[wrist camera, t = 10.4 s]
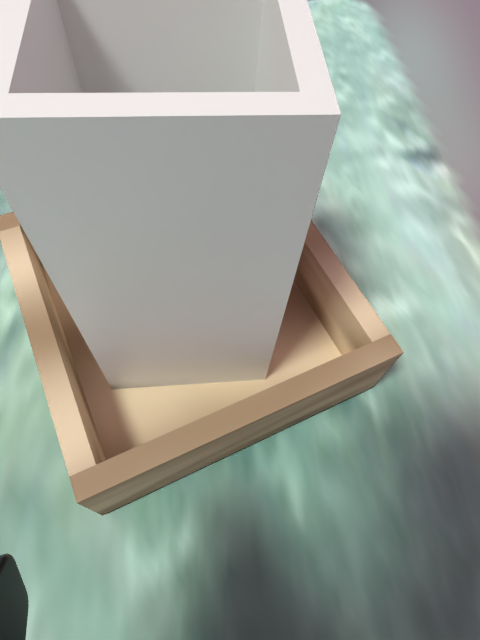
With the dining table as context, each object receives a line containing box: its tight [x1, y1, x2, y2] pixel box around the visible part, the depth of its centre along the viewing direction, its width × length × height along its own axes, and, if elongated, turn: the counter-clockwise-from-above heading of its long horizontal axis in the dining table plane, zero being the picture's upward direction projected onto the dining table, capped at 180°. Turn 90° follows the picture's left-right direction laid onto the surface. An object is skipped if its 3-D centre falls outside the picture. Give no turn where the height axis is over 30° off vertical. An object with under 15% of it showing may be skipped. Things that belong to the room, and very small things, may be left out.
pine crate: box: [0, 212, 403, 515], centre depth 18 cm, size 12×12×4 cm
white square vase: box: [0, 0, 341, 389], centre depth 14 cm, size 6×6×12 cm
